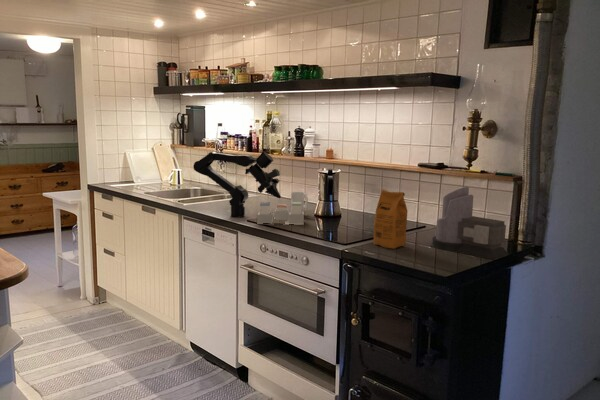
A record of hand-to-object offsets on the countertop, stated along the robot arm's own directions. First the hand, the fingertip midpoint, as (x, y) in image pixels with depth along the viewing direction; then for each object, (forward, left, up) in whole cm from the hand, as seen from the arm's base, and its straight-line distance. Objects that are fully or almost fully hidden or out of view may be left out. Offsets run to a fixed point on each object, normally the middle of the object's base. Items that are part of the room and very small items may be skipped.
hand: (280, 197), depth 257 cm
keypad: (+1, -5, -11) cm, 12 cm away
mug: (+10, +13, -11) cm, 20 cm away
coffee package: (+46, -54, -11) cm, 72 cm away
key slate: (-7, -11, -7) cm, 15 cm away
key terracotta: (+1, 0, -10) cm, 10 cm away
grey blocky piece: (+75, -59, -11) cm, 96 cm away
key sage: (+8, -9, -7) cm, 14 cm away
